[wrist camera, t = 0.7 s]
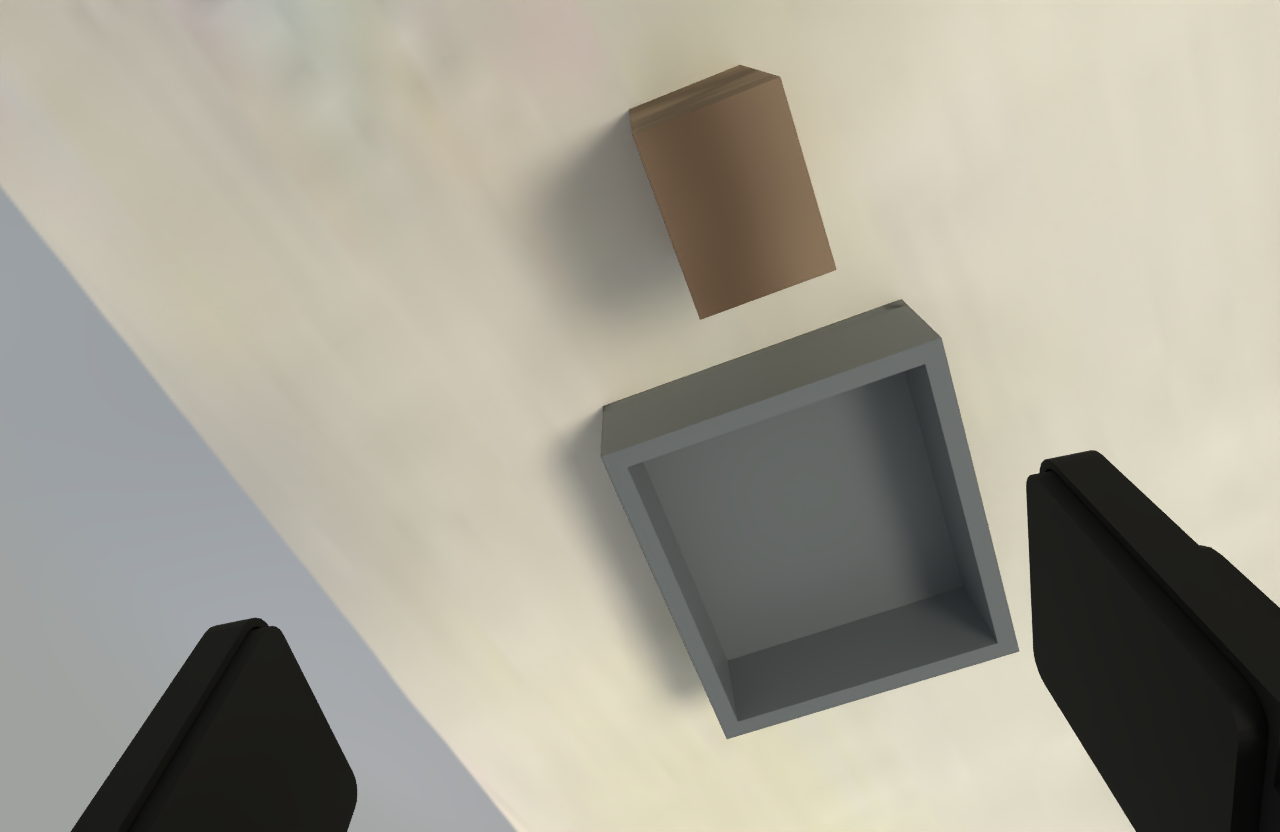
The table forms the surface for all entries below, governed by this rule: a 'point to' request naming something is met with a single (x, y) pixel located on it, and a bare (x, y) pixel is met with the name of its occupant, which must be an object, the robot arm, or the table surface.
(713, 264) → the walnut block
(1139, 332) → the table surface
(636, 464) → the bin
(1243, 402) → the table surface
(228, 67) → the table surface
